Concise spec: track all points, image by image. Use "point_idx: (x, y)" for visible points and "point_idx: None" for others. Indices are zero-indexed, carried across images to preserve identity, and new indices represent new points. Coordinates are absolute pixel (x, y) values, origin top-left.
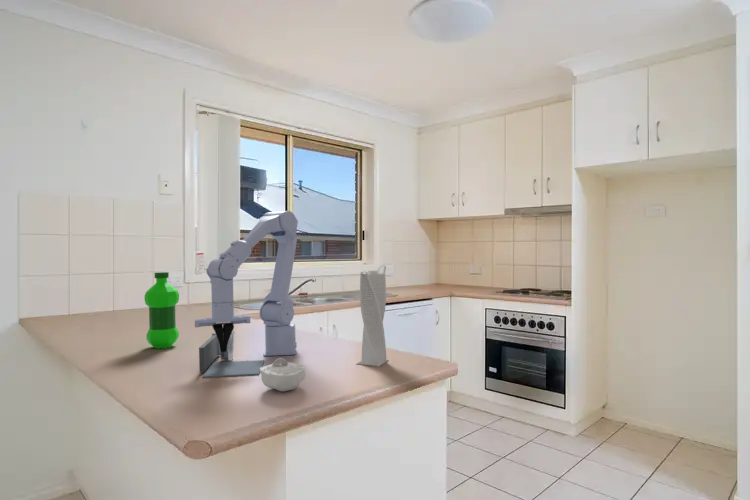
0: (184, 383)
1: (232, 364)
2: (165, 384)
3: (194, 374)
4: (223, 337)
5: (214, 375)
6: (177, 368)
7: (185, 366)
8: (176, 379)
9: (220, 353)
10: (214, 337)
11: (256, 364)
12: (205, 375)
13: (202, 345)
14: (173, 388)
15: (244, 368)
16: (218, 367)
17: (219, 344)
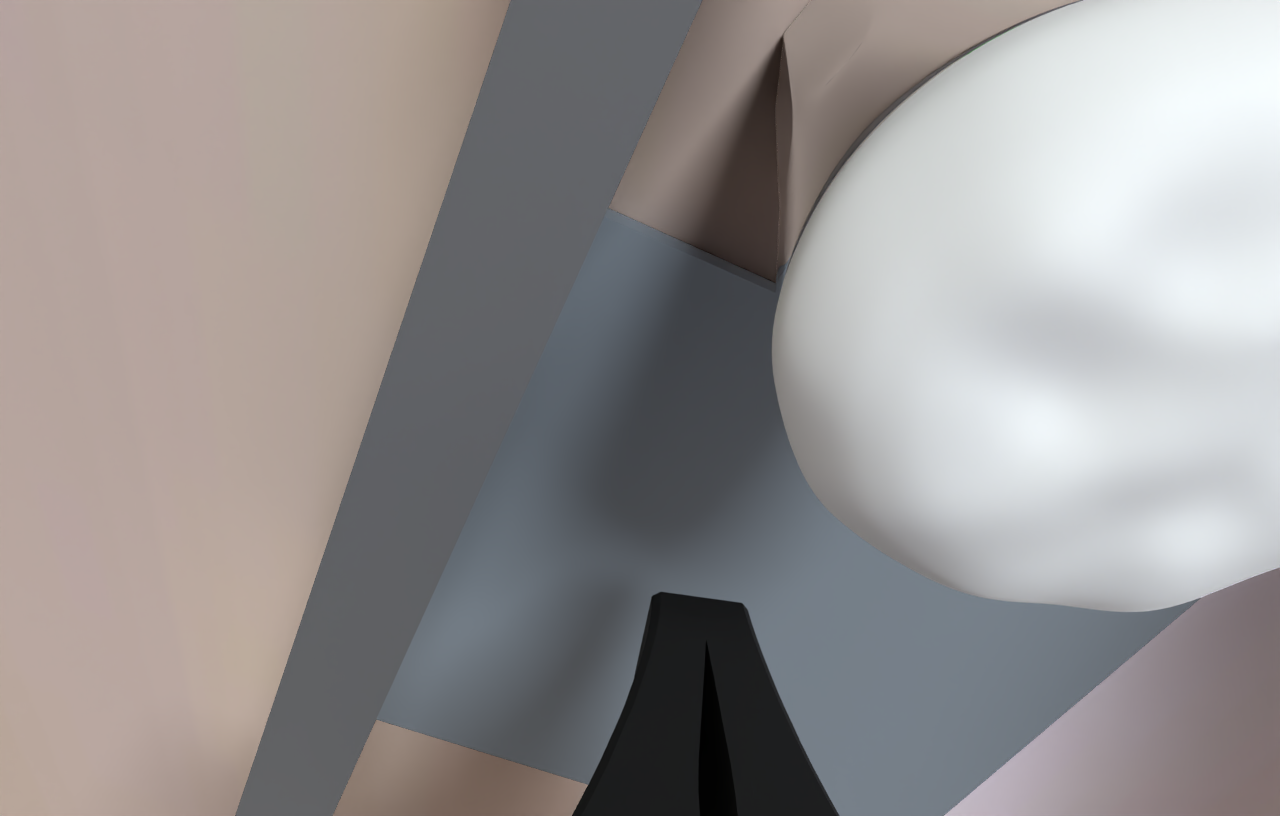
0: (220, 751)
1: (811, 489)
2: (42, 700)
3: (299, 559)
4: (736, 793)
5: (494, 747)
6: (4, 130)
7: (122, 68)
8: (118, 621)
9: (785, 85)
10: (677, 44)
11: (1055, 643)
12: (409, 710)
13: (262, 790)
14: (144, 807)
15: (850, 703)
16: (598, 523)
17: (791, 134)
